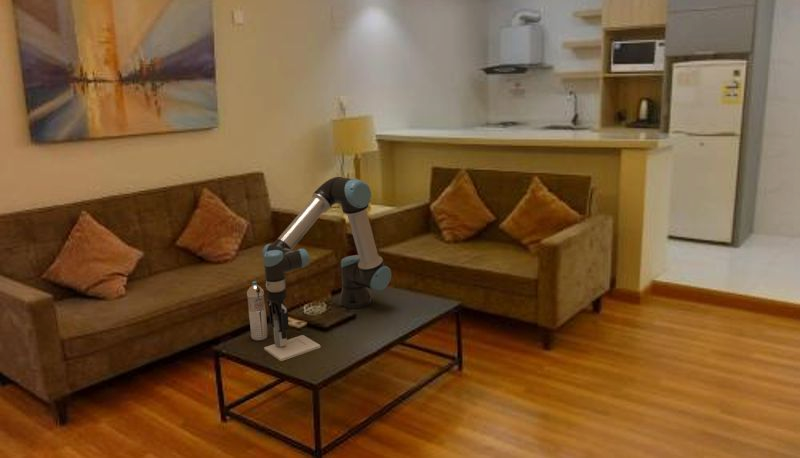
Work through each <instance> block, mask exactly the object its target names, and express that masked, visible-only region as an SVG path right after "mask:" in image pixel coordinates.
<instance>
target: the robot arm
mask: <svg viewBox="0 0 800 458" xmlns="http://www.w3.org/2000/svg"><path fill="white" fill-rule="evenodd" d="M371 198H372V192H371V188H370V186H369V185H368V184H367V183H366V182H365V181H363V180H360V179H357V178H349V177H342V176H335V177H332V178H329V179H327V180H326V181H325V182H323V183H322V184H321V185H320V186H319V187H318V188H316V190H315V191H314V192H313V193H312V195H311V199H310V200H309V202H308V203H307V204H306V205H305V206H304V208H303V209H301V210H300V212H299V213H298V214H297V216H296V217H294V219H293V220H292V221H291V223H290V224H289V225H288V226H287V227H286V228H285V230H283V232H282V233H281V234H280V235H279V237H277V239H276V240H275V242H273V243H267V244H266V245H264V246H263V249H262V253H261V255H262V257H263V267H264V276H265V287H266V299H267V301H266V303H267V307H268V315H269V316H268V317H269V324H270V325H271V326H272V327H273V328H272V329H273V339H274V344H276V340H275V330H274V320H273V313H276V315H278V322H279V328H280V330H279V338H280V346H281V347H282V346H285V345H287V340H288V339H287V338H288V337H287V331H289V330H290V326H289V325H290V324H289V307H286V306H285V302H284V300H285V299H287V289H286V277H285V276H286V274H285V273H288V272H291V271H295V270H298V269H302V268H305V267H306V266H308V265H309V264H310V260H311V259H310V254H309V251H307V250H306V249H305V248H297V249H294V248H295V246H296V245H297V244H298V243H299V242H300V241H301V239H302V238H303V237H304V235H306V234H307V233H308V231H309V230H310V228H312V226H313V225H314V224H315V223H316V222H317V220H318V219H319V218H320V217H321V216H322V214H323V213H324V212H325V211H326V210H330V208H332V207H333V205H335V204H337V205H340V206H341V210H342V213H343V214H345V215H346V216H347V217H348V218H347V219H348V222H349V223H348V224H349V226H350V230H351V234H352V237H353V241H354V245H355V248H356V251H357V254H355V255H354V254H353V255H348V256H345V257H343V258H342V259H341V260H340V270H341V271H340V273H341V274H340V275H341V285H342V286H341V287H342V288H341V292H340V296H339V299H338V300H339V305H340V306H341V305H342V306H345V307H347V308H346V309H362V308H365V307H368V306H370V305H371V303H372V297H371V294H370V292H369V289H370V290H373V291H382V290H384V289H386V288H387V287H388V286H389V284H390V282H391V279H392V270H391V268H390V267H388V266H387V265H385V263H384V260H383V257H382V256H380V255H379V253H378V250H377V246H376V241H375V238H374V234H373V230H372V226H371V223H370V219H369V216H368V211H367V210H368V208H369V206H370V205H369V204H370V202H371ZM342 306H341V307H342ZM345 307H344V308H345ZM279 312H280V313H279Z"/></svg>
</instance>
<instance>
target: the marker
mask: <svg viewBox="0 0 800 458" xmlns="http://www.w3.org/2000/svg"><path fill="white" fill-rule="evenodd" d="M279 313H280V312H279ZM273 320H274V329H273V331H274V330H275V340H276V343H275V344H276V347H281V346H280V338H279V330H280V328H279V322H278V315H276V313H273ZM285 346H286V345H285ZM282 347H284V346H282Z"/></svg>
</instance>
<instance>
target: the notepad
mask: <svg viewBox="0 0 800 458" xmlns="http://www.w3.org/2000/svg"><path fill="white" fill-rule="evenodd" d="M320 348H321V345H320V344H319V343H318V342H315V341H314V340H312V339H311V338H309V337H307V336H305V335H304V334H301V335H298V336H295V337H292V338H289V339H287V345H286V346H284V347H276V343H273V344H271V345H268V346H264V347H263V349H264V351H266V352H267V353H268V354H270V355H271V356H272V357H274V358H276V359H277V360H278V361H280V362H282V361H283V362H284V361H285V360H289V359H291V358H294V357H297V356H300V355H304V354H306V353H310V352H312V351H315V350H317V349H318V350H319V349H320Z"/></svg>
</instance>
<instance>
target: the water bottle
mask: <svg viewBox="0 0 800 458" xmlns="http://www.w3.org/2000/svg"><path fill="white" fill-rule="evenodd" d="M251 284H252V285H251V286H250V287H249V288H248V289H247V292H246V295H247V305H248V316H249V317H248V318H249V325H250V336H251V337H250V338H251V340H253V341H256V342H257V341H264V340H265V339H267V338H268V335H269V334H268V325H267V324H268V323H267V312H266V305H265V291H264V289H263V288H262V287H261V286H260V285H258V282H257V281H256V280H254V281H252V282H251Z"/></svg>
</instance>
